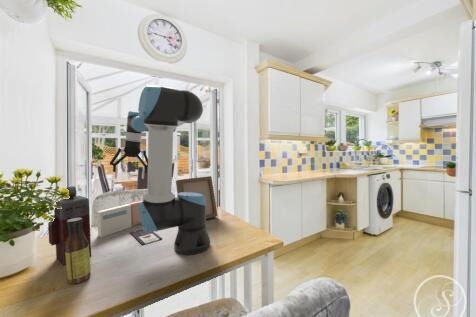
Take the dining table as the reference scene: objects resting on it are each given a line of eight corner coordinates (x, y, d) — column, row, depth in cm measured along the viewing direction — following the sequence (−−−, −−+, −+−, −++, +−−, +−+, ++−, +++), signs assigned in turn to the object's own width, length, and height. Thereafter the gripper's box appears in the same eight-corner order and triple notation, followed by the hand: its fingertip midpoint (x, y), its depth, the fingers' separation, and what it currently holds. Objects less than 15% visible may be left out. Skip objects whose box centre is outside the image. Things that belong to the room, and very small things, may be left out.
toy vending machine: (48, 261, 83) (44, 187, 81) (83, 250, 92) (80, 183, 90) (55, 269, 77) (51, 190, 76) (91, 256, 86) (88, 186, 85)
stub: (132, 226, 119) (132, 204, 118) (129, 225, 121) (128, 203, 120) (145, 221, 126) (144, 201, 125) (142, 220, 127) (141, 200, 127)
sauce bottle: (95, 273, 74) (92, 215, 73) (82, 284, 68) (80, 222, 67) (75, 273, 74) (72, 216, 73) (61, 285, 68) (58, 222, 67)
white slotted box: (101, 237, 105) (100, 212, 104) (98, 235, 106) (97, 211, 106) (132, 226, 119) (131, 204, 118) (128, 225, 120) (128, 204, 120)
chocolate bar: (148, 227, 115) (162, 238, 102) (148, 229, 115) (162, 240, 102) (130, 232, 109) (142, 244, 96) (130, 234, 109) (142, 246, 96)
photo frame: (217, 217, 133) (216, 176, 132) (185, 226, 118) (184, 180, 117) (204, 212, 144) (203, 174, 143) (173, 220, 129) (171, 178, 128)
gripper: (155, 142, 129) (152, 177, 131) (106, 136, 116) (103, 175, 118) (158, 143, 122) (154, 180, 125) (106, 138, 110) (103, 179, 112)
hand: (129, 178), depth 122 cm, fingers open, 13 cm apart
